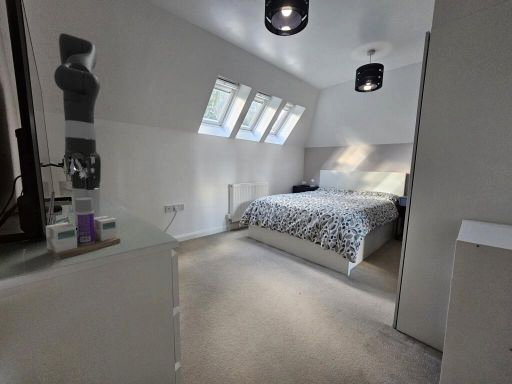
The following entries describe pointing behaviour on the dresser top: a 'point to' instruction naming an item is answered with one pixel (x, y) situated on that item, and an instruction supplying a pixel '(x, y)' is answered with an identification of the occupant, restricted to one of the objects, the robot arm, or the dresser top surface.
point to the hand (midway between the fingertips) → (83, 188)
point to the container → (85, 221)
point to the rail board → (65, 237)
